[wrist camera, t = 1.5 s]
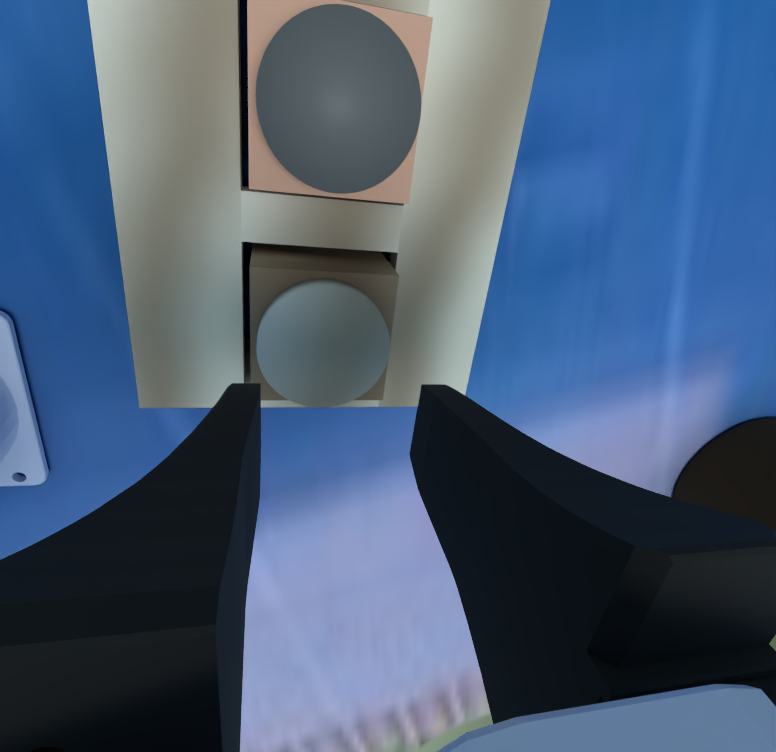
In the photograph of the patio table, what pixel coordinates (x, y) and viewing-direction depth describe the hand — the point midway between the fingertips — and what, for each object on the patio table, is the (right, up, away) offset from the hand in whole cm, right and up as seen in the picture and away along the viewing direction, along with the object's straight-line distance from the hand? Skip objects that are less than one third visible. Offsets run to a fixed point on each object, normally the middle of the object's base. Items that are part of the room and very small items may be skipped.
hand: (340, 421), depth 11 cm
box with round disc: (-2, +4, +7) cm, 8 cm away
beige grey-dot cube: (-1, +9, +4) cm, 10 cm away
